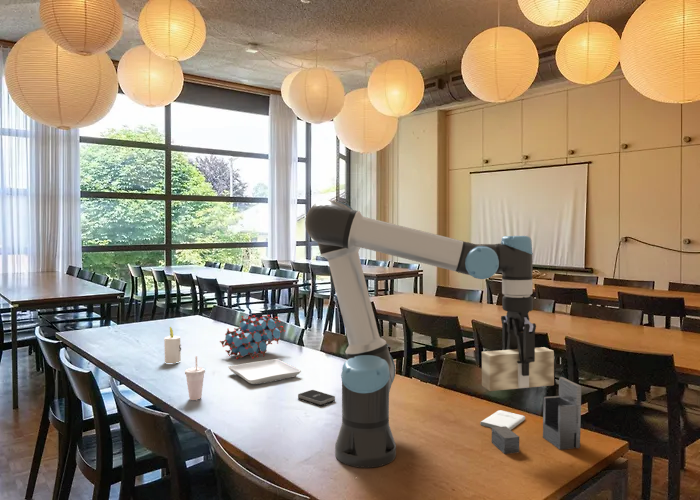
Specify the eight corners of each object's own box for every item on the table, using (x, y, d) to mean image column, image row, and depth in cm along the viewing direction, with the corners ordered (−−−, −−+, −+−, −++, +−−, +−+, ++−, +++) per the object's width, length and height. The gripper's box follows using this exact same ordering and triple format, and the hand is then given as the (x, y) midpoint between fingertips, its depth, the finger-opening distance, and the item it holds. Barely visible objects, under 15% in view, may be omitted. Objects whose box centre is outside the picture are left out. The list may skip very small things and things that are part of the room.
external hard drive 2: (480, 426, 147) (498, 414, 157) (507, 434, 142) (525, 421, 152) (480, 421, 147) (498, 409, 157) (507, 428, 142) (525, 415, 152)
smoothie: (209, 398, 170) (208, 356, 169) (191, 403, 165) (191, 360, 165) (199, 394, 174) (198, 353, 174) (181, 399, 170) (180, 356, 169)
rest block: (504, 453, 129) (504, 438, 128) (491, 442, 135) (491, 427, 135) (519, 452, 129) (519, 436, 129) (505, 441, 136) (505, 426, 136)
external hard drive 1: (312, 395, 175) (312, 389, 175) (336, 402, 167) (336, 396, 167) (297, 400, 170) (297, 394, 169) (321, 408, 162) (321, 402, 162)
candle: (178, 364, 212) (177, 328, 211) (162, 364, 212) (161, 328, 212) (183, 360, 218) (182, 325, 218) (168, 360, 219) (167, 325, 218)
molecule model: (231, 343, 212) (274, 305, 226) (214, 338, 222) (255, 302, 236) (250, 372, 218) (290, 334, 232) (232, 366, 229) (271, 329, 243)
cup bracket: (559, 449, 131) (561, 387, 130) (542, 437, 139) (543, 378, 138) (580, 447, 132) (581, 386, 131) (562, 435, 140) (563, 377, 139)
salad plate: (302, 378, 193) (302, 369, 193) (249, 389, 181) (249, 379, 181) (277, 366, 211) (276, 358, 210) (227, 374, 198) (227, 366, 198)
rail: (489, 390, 131) (489, 355, 130) (482, 385, 135) (481, 351, 134) (553, 385, 134) (553, 350, 134) (544, 380, 138) (544, 347, 138)
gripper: (550, 298, 126) (550, 393, 127) (513, 290, 143) (514, 374, 144) (521, 300, 124) (522, 396, 125) (488, 292, 141) (489, 376, 142)
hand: (518, 384), depth 134 cm, fingers closed on rail, 4 cm apart
